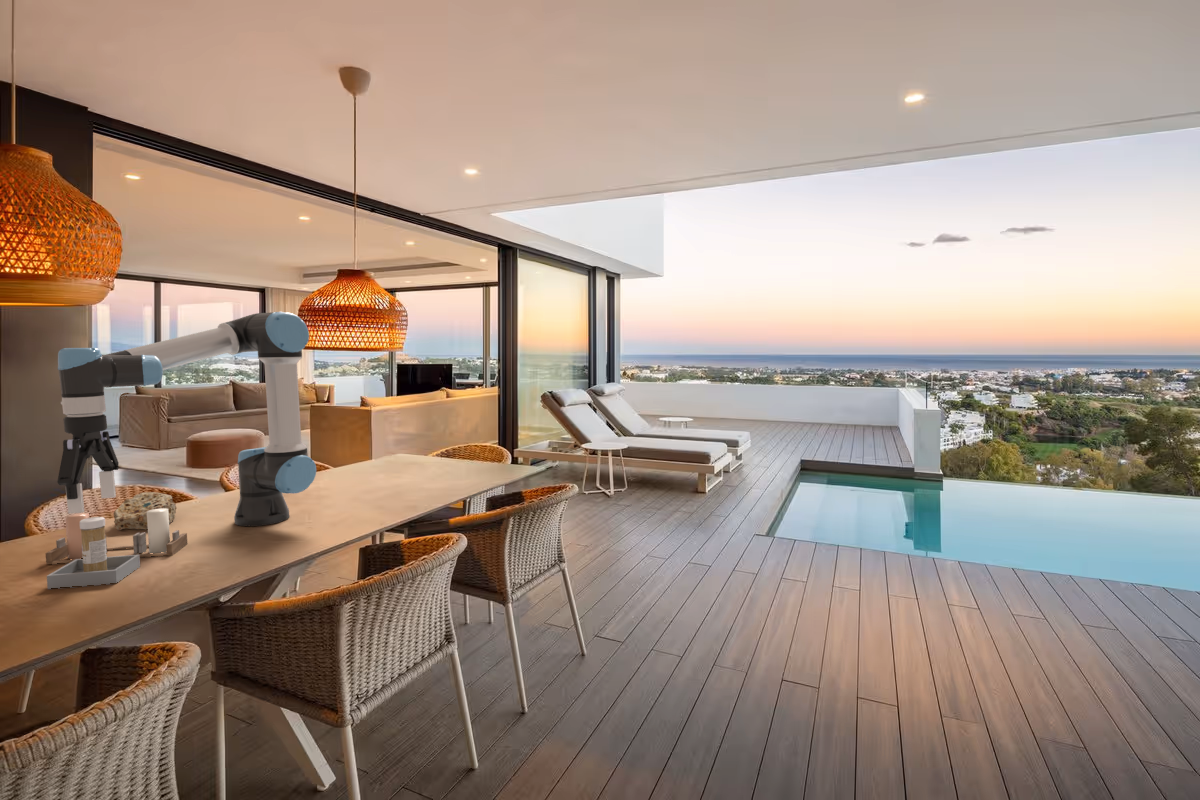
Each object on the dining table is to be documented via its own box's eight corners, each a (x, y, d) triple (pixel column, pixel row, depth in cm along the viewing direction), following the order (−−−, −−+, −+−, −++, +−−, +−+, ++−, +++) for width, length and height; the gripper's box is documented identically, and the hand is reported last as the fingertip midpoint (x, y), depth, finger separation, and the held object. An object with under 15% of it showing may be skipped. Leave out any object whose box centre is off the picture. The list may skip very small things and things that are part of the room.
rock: (175, 530, 182) (163, 501, 179) (117, 548, 176) (104, 518, 173) (183, 508, 200) (173, 480, 197) (132, 523, 194) (120, 495, 191)
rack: (187, 543, 166) (186, 526, 166) (172, 555, 157) (171, 536, 157) (69, 552, 159) (68, 533, 159) (46, 564, 150) (44, 545, 150)
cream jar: (173, 547, 163) (171, 507, 162) (166, 553, 159) (163, 512, 158) (153, 549, 162) (151, 509, 161) (145, 554, 158) (143, 513, 157)
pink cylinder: (95, 553, 159) (92, 512, 158) (85, 558, 154) (83, 516, 154) (74, 554, 157) (71, 513, 157) (64, 560, 153) (61, 518, 152)
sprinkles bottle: (81, 575, 141) (77, 519, 140) (106, 570, 145) (102, 515, 144) (85, 579, 138) (81, 522, 137) (110, 574, 142) (106, 518, 141)
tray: (140, 566, 149) (139, 554, 148) (116, 583, 138) (115, 570, 138) (76, 571, 145) (75, 559, 145) (47, 589, 135) (46, 575, 134)
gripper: (95, 409, 150) (103, 493, 152) (29, 422, 126) (39, 521, 128) (130, 408, 151) (137, 490, 154) (72, 420, 127) (81, 518, 129)
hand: (93, 504), depth 141 cm, fingers open, 13 cm apart
